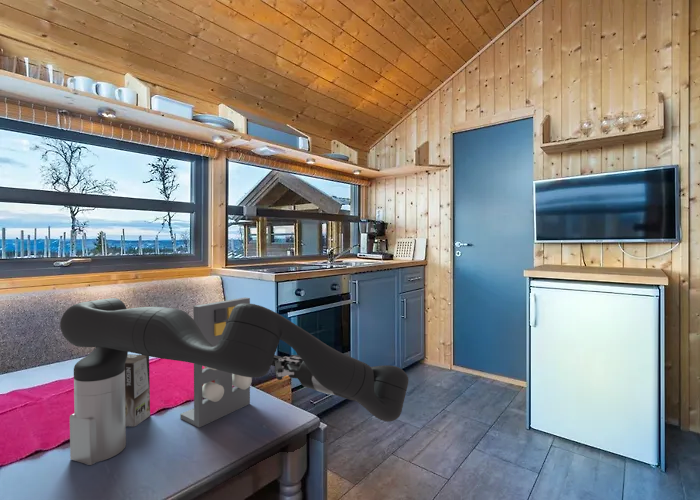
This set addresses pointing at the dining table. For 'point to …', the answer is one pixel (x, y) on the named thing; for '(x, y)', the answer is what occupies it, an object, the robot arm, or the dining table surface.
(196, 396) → the button panel
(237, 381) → the button bottom right
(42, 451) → the dining table surface
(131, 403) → the coffee box
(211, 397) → the button bottom left
